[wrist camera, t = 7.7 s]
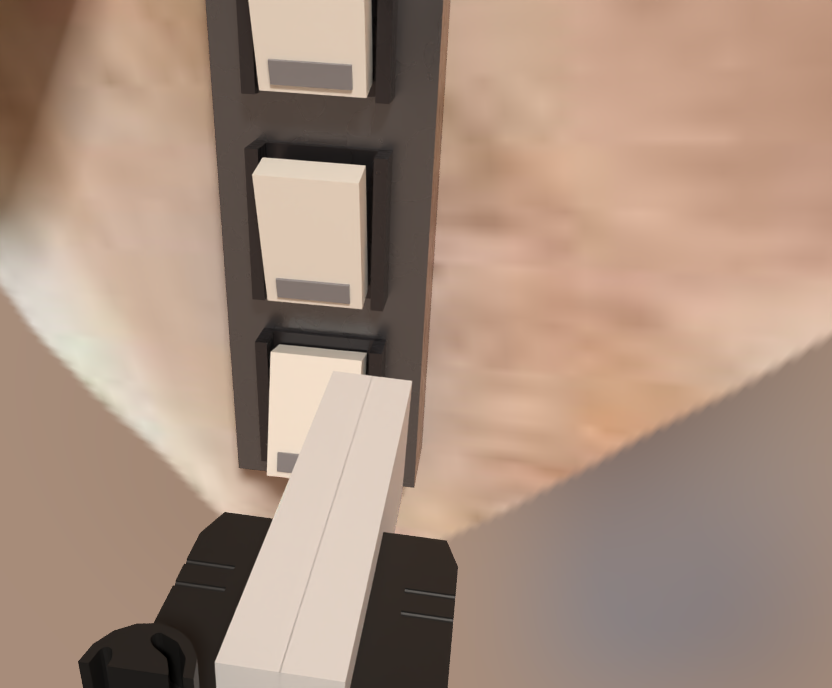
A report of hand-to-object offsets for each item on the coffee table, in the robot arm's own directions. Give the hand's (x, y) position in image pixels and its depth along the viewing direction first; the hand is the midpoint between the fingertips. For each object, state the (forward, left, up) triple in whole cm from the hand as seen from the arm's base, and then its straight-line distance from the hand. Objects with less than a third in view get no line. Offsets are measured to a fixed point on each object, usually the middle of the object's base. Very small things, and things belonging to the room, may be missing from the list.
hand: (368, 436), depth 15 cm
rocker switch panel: (+3, -6, -26) cm, 27 cm away
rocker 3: (+13, -6, -20) cm, 25 cm away
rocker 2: (+3, -6, -20) cm, 21 cm away
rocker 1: (-6, -6, -20) cm, 22 cm away
